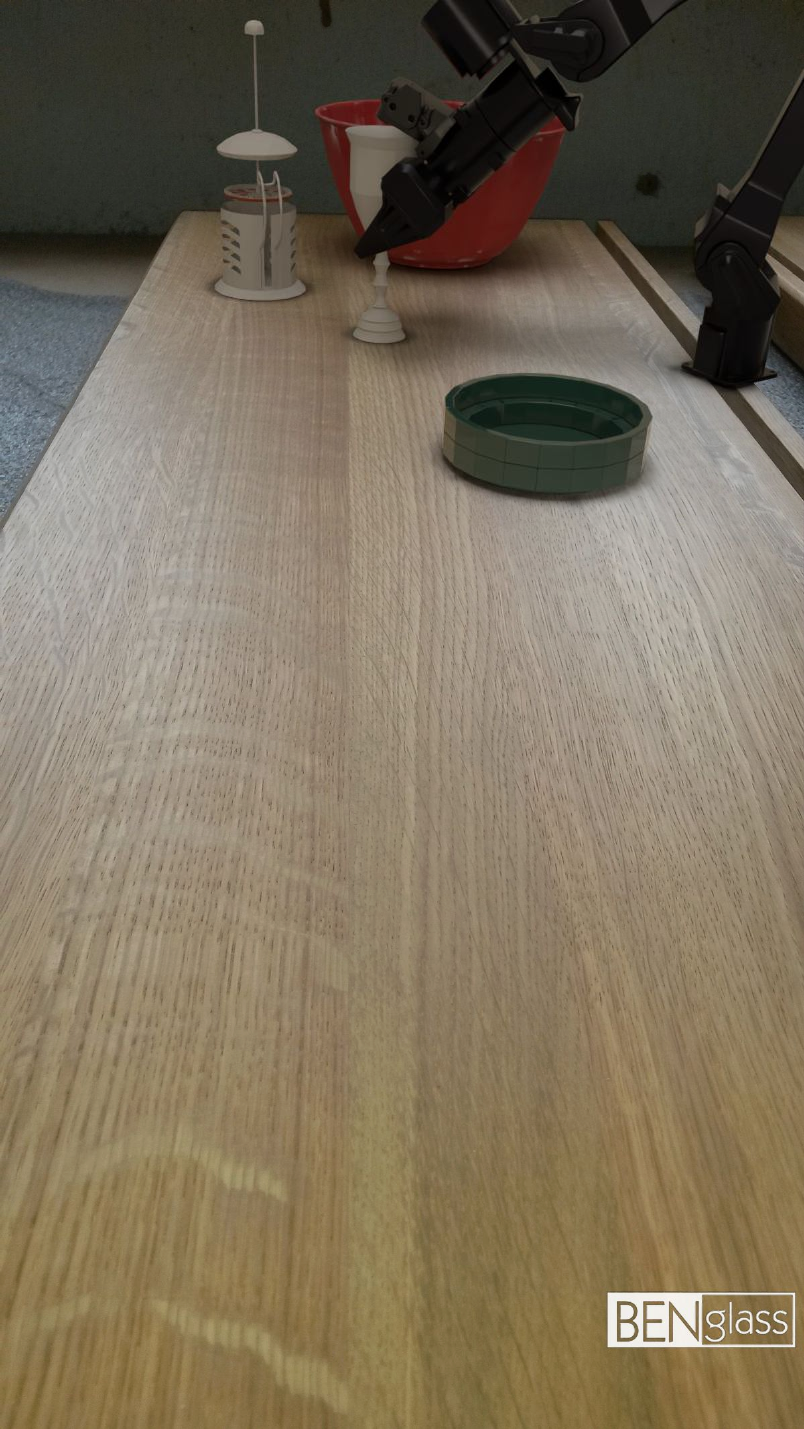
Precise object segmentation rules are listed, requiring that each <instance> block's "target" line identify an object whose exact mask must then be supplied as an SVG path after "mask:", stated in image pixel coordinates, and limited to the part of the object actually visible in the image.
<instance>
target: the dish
mask: <svg viewBox="0 0 804 1429" xmlns="http://www.w3.org/2000/svg"><path fill="white" fill-rule="evenodd" d="M653 418H654V416H653V414H652V412H651V410H650V408H649V406H648V405H647V404H646V403H645V402H643V401H642V400H641V399H639V398H638V397H637V396H635V395H634V394H632V393H630V392H627V391H625V390H622V389H620V388H618V387H616V386H613V385H610V384H608V383H604V382H600V381H597V380H592V379H590V378H589V379H588V378H583V377H578V376H572V375H566V374H565V375H564V374H557V373H541V372H513V373H512V372H511V373H496V374H491V375H486V376H480V377H476V378H472V379H468V380H467V381H464V382H462V383H460V384H458V385H455V386H453V387H452V388H451V389H450V391H449V392H448V393H447V394H446V395H445V396H444V402H443V418H442V419H443V420H442V433H441V448H442V449H441V451H442V454H443V455H444V456H445V458H446V459H447V460H448V461H449V462H450V463H451V464H452V465H453V467H455V468H457V469H459V470H460V471H462V472H464V473H466V474H468V475H470V476H472V477H473V478H476V479H479V480H481V481H484V482H486V483H489V484H492V485H495V486H498V487H501V488H505V489H508V490H513V491H518V492H524V493H532V494H541V495H543V494H544V495H574V494H577V495H578V494H585V493H593V492H596V491H602V490H607V489H610V488H614V487H617V486H621V485H624V484H626V483H628V482H629V481H631V480H632V479H634V478H636V477H637V476H639V475H640V474H641V473H642V470H643V468H644V466H645V463H646V460H647V454H648V449H649V443H650V442H649V441H650V437H651V429H652V424H653Z"/></svg>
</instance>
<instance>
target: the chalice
mask: <svg viewBox="0 0 804 1429" xmlns="http://www.w3.org/2000/svg"><path fill="white" fill-rule="evenodd" d="M345 131H346V134H347V136H348V138H349V141H350V143H351V152H350V191H351V194H352V197H353V201H354V204H355V208H356V211H357V213H358V215H359V218H360V220H361V223H362V225H363V227H364V230H365V231H366V230H367V228H368V227H369V225H370V224H371V222H372V221H373V219H374V218H375V216H376V215H377V213H378V211H379V210H380V208H381V207H382V191H381V188H380V185H381V181H382V180H381V178H382V177H383V176H384V175H385V174H386V173H387V172H388V171H389V170H390V169H391V168H392V167H393V166H394V165H395V164H396V163H398V162H399V161H400V160H402V159H403V158H405V157H413V158H420V155H419V153H418V152H417V151H416V150H415V148H416V147H417V146H418V145H419V144H420V143H421V142H419V141H417V140H415V139H413V138H412V137H410V136H408V135H407V134H405V133H404V132H402V131H400V130H399V129H397V128H396V127H394V126H377V125H371V126H354V127H349V128H347V129H345ZM372 264H373V266H374V268H375V277H374V280H373V281H372V282H371V285H372V287H373V288H374V294H375V297H374V302H373V303H372V304H371V307H369V308H368V307H367V308H366V309H365V310H363V312H362V313H361V314H360V319H359V320H358V322H357V324H356V325H357V327H356V328H355V330H354V331H353V333H352V335H353V337H354V338H355V339H358V340H360V341H363V342H368V343H375V344H390V343H392V344H393V343H396V342H400V341H403V340H404V339H405V338H406V334H405V333H404V331H403V328H402V327H403V325H402V323H401V321H400V316H399V315H398V313H397V312H396V311H395V309H393V308H390V307H389V306H390V305H389V304H387V299H386V295H387V291H388V288H389V287H390V286H391V283H390V282H389V280H388V276H387V272H388V268H389V266H390V265H391V262H390V261H388V256H387V251H385V252H382V253H379V254H376V255H375V258H374V260H373V262H372Z"/></svg>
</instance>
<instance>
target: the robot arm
mask: <svg viewBox="0 0 804 1429" xmlns="http://www.w3.org/2000/svg"><path fill="white" fill-rule="evenodd" d="M688 1H689V0H579V1H576V2H575V3H573V4H572V5H569V6H568V7H566V8H564V9H563V10H561V12H560V13H559V14H558V15H555V16H554V15H553V16H542V17H539V15H538V14H534V15H533V16H531V17H529V18H526V19H523V17H522V16H521V15H520V13H519V12H518V11H517V9H516V7H514V5H513V3H512V2H511V1H510V0H436V2H435V3H434V4H433V5H432V6H431V7H430V8H429V10H427V12H426V13H425V14H424V15H423V17H422V18H421V19H420V21H419V24H420V25H421V26H422V28H423V29H424V30H425V32H426V33H427V34H428V36H429V37H430V39H432V41H433V42H434V44H435V45H436V46H437V47H438V49H439V50H440V51H441V53H442V54H443V55H444V56H445V58H446V59H447V61H448V62H449V63H450V64H451V66H452V67H453V69H454V70H455V71H456V73H457V74H458V75H459V76H460V78H461V79H464V78H466V77H467V76H468V75H469V77H470V78H473V77H474V75H475V78H477V80H478V81H481V80H482V79H484V78H485V77H486V76H487V75H488V74H489V73H491V71H492V70H493V69H494V68H496V66H498V65H499V64H500V63H501V62H502V61H503V60H504V59H505V58H506V57H507V56H508V55H509V54H510V55H511V56H512V58H513V60H511V62H510V63H509V64H508V65H506V66H505V67H504V68H503V69H502V70H501V72H499V73H498V74H497V75H496V76H495V77H494V78H493V79H491V81H490V82H489V83H488V84H486V85H485V87H484V88H483V89H481V91H480V92H479V93H477V95H476V96H475V97H473V98H472V99H471V100H470V101H469V103H467V102H468V101H464V102H465V103H464V104H463V105H462V106H461V107H460V106H459V107H458V108H457V109H455V110H454V109H452V108H451V107H449V106H448V105H447V104H445V103H444V102H443V101H444V100H441V99H440V98H438V97H437V96H435V95H434V94H432V93H431V92H429V91H428V90H426V89H424V88H423V87H422V86H419V85H418V84H417V83H415V82H413V81H412V80H411V79H408V78H406V77H404V76H398V77H396V78H393V79H392V80H391V81H390V83H389V84H388V87H387V90H386V92H385V93H384V94H382V95H381V98H380V100H381V105H380V107H379V109H378V111H377V113H376V117H377V118H378V119H379V120H380V121H382V122H383V123H385V124H386V125H389V124H391V125H393V126H394V127H396V128H397V129H399V130H400V131H402V132H404V133H405V134H407V135H408V136H410V137H412V138H413V139H415V140H417V141H419V142H421V143H420V144H419V145H418V146H417V147H416V148H415V150H416V151H417V152H418V153H419V155H420V158H413V157H405V158H403V159H402V160H400V161H399V162H398V163H396V164H395V165H394V166H393V167H392V168H391V169H390V170H389V171H388V172H387V173H386V174H385V175H384V176H383V177H382V178H381V180H382V181H381V185H380V188H381V191H382V207H381V208H380V210H379V211H378V213H377V215H376V216H375V218H374V219H373V221H372V222H371V224H370V225H369V227H368V228H367V230H366V231H365V233H364V234H363V236H362V237H361V238H359V240H358V241H357V243H356V245H355V246H354V247H353V253H354V254H355V256H356V257H357V258H358V259H359V260H364V259H367V258H370V257H373V256H376V254H379V253H382V252H385V251H388V250H391V249H394V248H397V247H400V246H403V245H406V244H409V243H412V242H415V241H419V240H424V239H426V238H429V237H431V236H432V235H433V234H434V233H435V232H436V231H437V230H438V229H439V228H440V227H442V226H443V225H444V224H445V223H446V222H447V221H448V220H449V219H450V218H451V217H452V211H453V210H455V209H456V208H457V207H458V206H459V205H460V204H463V203H464V202H465V201H466V200H467V199H469V198H470V197H471V196H472V195H473V194H474V193H475V192H476V191H477V190H478V189H479V188H480V187H481V184H482V183H483V182H484V181H486V180H487V179H488V178H489V177H490V176H491V175H492V174H493V173H494V172H496V171H497V170H498V169H499V168H500V167H501V166H502V165H504V164H505V163H506V162H507V161H508V159H510V158H511V157H512V156H513V155H514V154H515V153H516V152H517V151H518V150H519V149H520V148H522V147H523V146H524V145H525V144H526V143H527V142H528V141H529V140H530V139H531V138H533V137H534V136H535V135H536V134H537V133H538V132H539V131H540V130H541V129H542V128H543V127H545V126H546V125H547V124H548V123H549V122H550V121H551V120H552V119H553V118H554V117H555V116H556V117H557V118H558V119H559V120H560V122H561V123H562V124H563V126H564V127H565V129H566V132H569V133H571V132H574V131H575V129H576V128H577V126H579V124H580V108H581V105H582V102H583V100H584V98H585V97H584V94H583V93H580V92H579V93H574V92H573V93H572V92H569V90H567V88H566V87H565V86H564V84H563V83H562V82H561V80H560V79H559V77H558V76H557V75H556V73H555V72H554V71H553V69H552V68H551V66H550V65H548V66H546V68H544V69H543V70H542V71H541V70H540V68H538V66H537V65H536V64H535V63H534V62H533V60H532V59H531V58H530V57H529V56H528V55H530V56H533V57H536V58H540V59H543V60H547V61H550V63H551V65H552V67H553V68H554V69H555V71H556V72H557V74H559V75H560V76H561V77H563V78H564V79H565V80H567V81H570V82H575V83H579V84H583V83H589V82H591V81H594V80H596V79H598V78H600V77H601V76H602V75H604V74H605V73H606V72H607V71H608V70H609V69H610V68H612V66H613V65H614V64H615V63H616V62H618V61H619V60H620V59H621V58H622V57H623V56H624V55H625V54H626V53H627V52H629V50H630V49H632V48H633V46H635V45H636V44H637V43H638V42H639V41H640V40H641V39H642V38H643V37H644V36H645V35H646V34H648V33H649V32H650V31H651V30H652V28H654V27H655V26H656V25H657V24H658V23H659V22H660V21H661V20H662V19H663V18H664V17H666V16H667V15H668V14H670V13H671V12H672V11H674V10H676V9H677V8H678V7H680V6H681V5H684V4H685V3H686V2H688ZM796 80H797V81H796V82H795V84H794V86H793V88H792V89H791V92H790V93H789V94H788V97H787V99H786V101H785V103H784V104H783V106H782V108H781V109H780V111H779V113H778V116H777V117H776V119H775V121H774V122H773V124H772V127H771V128H770V131H769V132H768V134H767V135H766V137H765V139H764V141H763V143H762V145H761V147H760V149H759V151H758V153H757V154H756V156H755V158H754V159H753V162H752V163H751V165H750V167H749V169H748V170H747V171H746V173H745V174H744V175H743V176H742V177H741V179H740V180H739V181H738V182H737V184H736V185H735V186H734V187H733V188H732V189H731V190H730V189H729V188H728V187H726V186H725V185H724V184H722V183H721V182H718V183H717V185H716V188H715V189H714V193H713V195H712V199H711V200H710V204H709V207H708V208H707V210H706V212H705V213H704V214H703V216H702V217H701V218H700V219H699V220H698V221H697V222H695V225H694V234H693V242H694V243H695V249H694V250H695V251H694V260H693V269H694V272H695V276H696V279H697V281H699V283H700V285H701V286H702V287H703V288H705V289H706V290H707V291H709V292H710V294H711V300H709V302H708V304H705V305H704V309H703V315H702V321H701V323H700V324H699V328H698V333H697V339H696V345H695V349H694V356H693V360H692V359H691V360H688V361H684V362H683V361H682V362H681V364H680V369H681V370H683V371H685V372H689V373H691V374H694V375H696V376H699V377H702V378H704V379H706V380H709V381H711V382H714V383H717V384H719V385H722V386H724V387H727V388H731V389H733V388H734V389H735V388H738V387H739V388H740V387H743V386H746V385H752V384H756V383H760V382H766V381H769V380H773V379H777V378H778V375H779V371H777V370H775V369H772V368H769V367H766V365H767V361H768V355H769V350H770V345H771V341H772V337H773V332H774V328H775V323H776V322H775V321H776V317H777V312H778V309H779V305H780V303H781V292H780V284H779V277H778V273H777V271H776V270H775V269H774V267H773V266H772V265H771V263H770V262H769V261H768V259H767V258H766V257H767V255H768V252H769V249H770V247H771V244H772V241H773V239H774V235H775V233H776V230H777V226H778V223H779V221H780V217H781V214H782V211H783V209H784V204H785V203H786V202H785V201H786V199H787V197H788V194H789V193H790V191H791V189H792V187H793V186H794V184H795V182H796V180H797V178H798V176H799V175H800V173H801V171H802V170H803V167H804V68H803V70H802V71H801V73H800V74H799V77H798V78H797V79H796Z"/></svg>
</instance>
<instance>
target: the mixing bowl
mask: <svg viewBox="0 0 804 1429" xmlns="http://www.w3.org/2000/svg"><path fill="white" fill-rule="evenodd" d="M442 101H443V102H444V103H445V104H447V105H448V106H449V107H451V108H452V109H454V110H455V109H457V108H458V107H459V106H460V107H461V106H462V105H463V104H464V103H465V102H467V103H469V102H470V101H469V102H468V101H456V100H442ZM380 105H381V99H360V100H347V101H339V102H333V103H328V104H324V105H321V106H319V107H317V108H316V109H315V112H314V114H315V115H316V117H317V118H318V121H319V126H320V132H321V136H322V140H323V146H324V149H325V153H326V157H327V162H328V165H329V168H330V171H331V175H332V179H333V181H334V184H335V187H336V189H337V193H338V196H339V197H340V201H341V203H342V206H343V207H344V210H345V213H346V214H347V217H348V219H349V222H350V223H351V225H352V227H353V229H354V231H355V232H356V234H357V236H358V237H359V239H361V237H362V236H363V234H364V233H365V230H364V227H363V225H362V223H361V220H360V218H359V215H358V213H357V211H356V208H355V204H354V201H353V197H352V194H351V191H350V152H351V143H350V141H349V138H348V136H347V134H346V131H345V129H347V128H349V127H354V126H371V125H377V126H393V125H391V124H389V125H386V124H385V123H383V122H382V121H380V120H379V119H378V118H377V117H376V113H377V111H378V109H379V107H380ZM565 132H567V130H566V129H565V127H564V126H563V124H562V123H561V122H560V120H559V119H558V118H557V116H555V117H554V118H553V119H552V120H551V121H550V122H549V123H548V124H547V125H546V126H545V127H543V128H542V129H541V130H540V131H539V132H538V133H537V134H536V135H535V136H534V137H533V138H531V139H530V140H529V141H528V142H527V143H526V144H525V145H524V146H523V147H522V148H520V149H519V150H518V151H517V152H516V153H515V154H514V155H513V156H512V157H511V158H510V159H508V161H507V162H506V163H505V164H504V165H502V166H501V167H500V168H499V169H498V170H497V171H496V172H494V173H493V174H492V175H491V176H490V177H489V178H488V179H487V180H486V181H484V182H483V183H482V184H481V187H480V188H479V189H478V190H477V191H476V192H475V193H474V194H473V195H472V196H471V197H470V198H469V199H467V200H466V201H465V202H464V203H463V204H460V205H459V206H458V207H457V208H456V209H455V210H453V211H452V217H451V218H450V219H449V220H448V221H447V222H446V223H445V224H444V225H443V226H442V227H440V228H439V229H438V230H437V231H436V232H435V233H434V234H433V235H432V236H431V237H429V238H426V239H424V240H419V241H415V242H412V243H409V244H406V245H403V246H400V247H397V248H394V249H391V250H388V251H387V256H388V261H389V262H390V263H394V264H399V265H401V266H403V265H404V266H409V267H414V268H422V269H423V268H424V269H445V270H450V269H452V270H453V269H467V268H474V267H479V266H482V265H485V264H487V263H489V262H490V261H491V259H494V258H496V257H497V256H499V255H500V254H502V253H503V252H504V251H506V250H507V249H508V248H509V247H510V246H512V244H513V243H514V242H515V241H516V239H517V238H518V237H519V235H520V234H521V232H522V231H523V229H524V227H525V225H526V224H527V223H528V221H529V219H530V217H531V215H532V214H533V212H534V210H535V208H536V207H537V204H538V202H539V200H540V198H541V196H542V194H543V192H544V190H545V187H546V185H547V182H548V180H549V178H550V176H551V173H552V171H553V168H554V165H555V163H556V160H557V158H558V154H559V151H560V148H561V144H562V141H563V139H564V135H565Z"/></svg>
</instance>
